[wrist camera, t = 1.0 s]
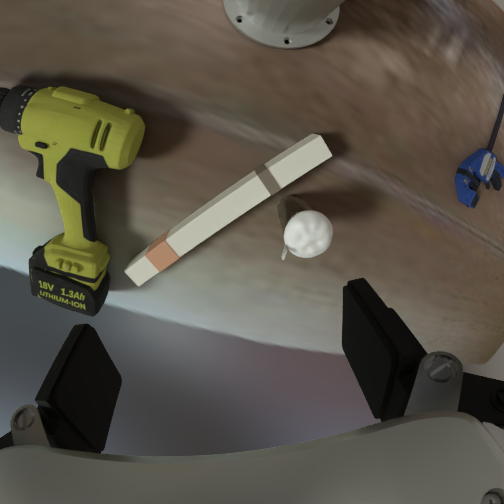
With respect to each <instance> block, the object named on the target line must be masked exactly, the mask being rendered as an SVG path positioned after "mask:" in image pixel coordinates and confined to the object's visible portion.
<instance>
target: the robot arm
mask: <svg viewBox="0 0 504 504" xmlns="http://www.w3.org/2000/svg"><path fill="white" fill-rule="evenodd" d="M344 1H346V0H223V4H224V9H225V12H226V14H227V16H228V19H229V20H230V22H231V23H232V24H233V26H234V27H235V28H236V29H237V30H238V31H239V32H240V33H242V34H243V35H244V36H246V37H247V38H249V39H250V40H252V41H255V42H257V43H259V44H261V45H265V46H268V47H272V48H279V49H297V48H302V47H307V46H309V45H312V44H315V43H316V42H318V41H320V40H321V39H323V38H324V37H325V36H327V35H328V34H329V33H330V32H331V30H332V29H333V28H334V27H335V25H336V23H337V21H338V17H339V13H340V5H341V4H342V3H343V2H344ZM237 20H241V21H242V22H241V23H239V22H237ZM326 22H328V23H329V24H327V23H326ZM284 41H288V43H289V44H285V42H284ZM342 347H343V351H344V353H345V355H346V357H347V359H348V361H349V363H350V366H351V368H352V370H353V372H354V374H355V376H356V378H357V381H358V383H359V385H360V387H361V389H362V391H363V394H364V396H365V398H366V400H367V402H368V405H369V407H370V409H371V411H372V414H373V415H374V417H375V418H376V419H378V418H380V420H381V423H377V424H373V425H369V426H366V427H362V428H359V429H355V430H352V431H348V432H344V433H341V434H337V435H333V436H328V437H324V438H320V439H316V440H311V441H306V442H302V443H297V444H291V445H286V446H280V447H275V448H269V449H262V450H255V451H247V452H238V453H229V454H218V455H203V456H183V457H182V456H179V457H149V456H124V455H110V454H101V451H103V450H104V448H105V444H106V440H107V436H108V432H109V427H110V424H111V420H112V416H113V412H114V408H115V405H116V401H117V398H118V394H119V391H120V387H121V383H122V379H121V375H120V374H119V372H118V370H117V369H116V367H115V365H114V363H113V362H112V360H111V358H110V356H109V355H108V353H107V351H106V349H105V347H104V345H103V344H102V342H101V340H100V338H99V336H98V334H97V332H96V330H95V329H94V328H93V327H91V326H90V325H89V324H79V325H75V326H74V327H73V329H72V330H71V332H70V334H69V336H68V337H67V339H66V341H65V342H64V344H63V346H62V348H61V350H60V351H59V353H58V355H57V357H56V359H55V361H54V362H53V364H52V366H51V368H50V370H49V372H48V374H47V376H46V378H45V380H44V382H43V384H42V386H41V388H40V390H39V392H38V394H37V396H36V398H35V401H36V402H37V404H38V408H36V407H35V406H34V405H30V404H29V405H24V406H22V407H20V408H19V409H17V410H16V412H15V413H14V414H13V416H12V418H11V421H10V427H11V431H10V432H9V433H7V434H6V435H4V436H3V437H1V438H0V504H504V381H501V380H496V379H491V378H487V377H483V376H478V375H474V374H470V373H466V372H463V366H462V363H461V361H460V360H459V359H458V358H457V357H456V356H454V355H453V354H451V353H448V352H444V351H436V352H431V353H429V354H427V352H426V351H425V350H424V348H423V347H422V346H421V344H420V343H419V342H418V340H417V339H416V338H415V336H414V335H413V334H412V332H411V331H410V330H409V328H408V327H407V326H406V324H405V323H404V322H403V321H402V319H401V318H400V317H399V315H398V314H397V313H396V312H395V310H393V309H392V308H388V307H387V306H386V305H385V303H384V302H383V301H382V300H381V298H380V297H379V296H378V295H377V293H376V292H375V291H374V290H373V288H372V287H371V286H370V285H369V283H368V282H367V281H366V280H365V279H364V278H360V279H355V280H351V281H348V283H347V286H344V287H343V322H342Z"/></svg>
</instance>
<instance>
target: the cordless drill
mask: <svg viewBox="0 0 504 504" xmlns="http://www.w3.org/2000/svg"><path fill="white" fill-rule="evenodd" d="M0 126H1V128H2V129H3V130H5V131H8V132H11V133H15V134H19V135H18V139H19V143H20V146H21V147H22V148H23V149H26V150H27V151H29V152H31V153H32V154H34V155H36V157H37V158H38V160H39V165H38V170H37V173H36V176H37V177H39V178H42V179H45V180H46V181H47V182H49V183H50V184H51V186H52V187H53V189H54V192H55V194H56V197H57V201H58V204H59V208H60V211H61V215H62V218H63V222H64V227H65V233H62V234H59V235H57V236H55V237H54V238H52V239H51V240H49V241H48V242H47V243H45V244H44V245H43V246H38V247H37V248H35V250H34V251H33V255H32V257H31V258H30V259H29V274H30V283H31V292H32V295H34V296H38V297H40V298H43V299H45V300H47V301H49V302H51V303H54V304H56V305H58V306H60V307H63V308H66V309H69V310H72V311H76V312H79V313H82V314H85V315H89V316H95V315H96V314H97V313H98V312H99V310H100V309H101V307H102V305H103V304H104V302H105V299H106V297H107V294H108V290H109V281H110V277H109V274H108V273H107V271H106V265H107V264H108V262H109V260H110V255H109V254H108V247H107V246H106V245H103V244H102V242H100V241H97V234H96V225H95V216H94V207H93V196H92V182H93V176H94V172H95V171H96V170H97V169H98V168H114V169H119V170H121V169H124V168H126V167H128V166H130V165H131V164H132V163H133V161H134V159H135V157H136V155H137V153H138V150H139V148H140V145H141V142H142V139H143V136H144V132H145V124H144V122H143V120H142V118H141V117H140V116H139V115H136V114H135V110H133V109H126V110H124V109H121V108H118V107H116V106H113V105H111V104H108V103H105V102H102V101H100V99H99V97H98V96H96V95H93V94H90V93H86V92H83V91H79V90H75V89H71V88H68V87H64V86H60V87H58V88H56V87H48V88H43V89H38V88H33V87H27V86H16V87H14V88H12V89H11V90H10V89H7V88H1V87H0Z"/></svg>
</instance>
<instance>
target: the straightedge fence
mask: <svg viewBox="0 0 504 504" xmlns="http://www.w3.org/2000/svg"><path fill="white" fill-rule="evenodd" d="M330 157H332V154H331V152H330V151H329V149H328V147H327V146H326V144H325V142H324V140H323V139H322V137H321V135H317V134H311V135H309V136H308V137H306V138H304V139H303V140H301V141H300V142H298V143H296V144H295V145H293V146H292V147H290V148H288V149H287V150H285V151H284V152H282V153H281V154H279V155H277V156H276V157H274V158H273V159H271V160H270V161H268V162H267V163H265V164H263V165H261V166H260V167H258V168H257V169H255V170H254V171H253V172H251V173H250V174H248V175H247V176H245V177H244V178H242V179H241V180H240V181H238V182H237V183H235V184H234V185H232V186H231V187H229V188H228V189H226V190H225V191H223V192H222V193H221V194H219V195H218V196H216V197H215V198H213V199H212V200H211V201H209V202H208V203H206V204H205V205H204V206H202V207H201V208H199V209H198V210H197V211H195V212H194V213H192V214H191V215H190V216H188V217H187V218H185V219H184V220H183V221H181V222H180V223H179V224H177V225H176V226H175V227H173V228H172V229H171V230H169V231H167V232H166V233H165V234H163V235H162V236H161V237H159V238H158V239H157V240H155V241H154V242H153V243H151V244H150V245H149V246H148V247H147V248H146V249H144V250H143V251H142V252H140V253H139V254H138V255H137V256H135V257H134V258H133V259H131V261H130V262H129V264H128V266H127V268H126V269H125V271H124V272H125V273H126V274H127V275H128V276H129V277H130V278H131V279H132V280H133V281H134V282H135V284H136V285H137V286H138V287H139V286H140V285H142V284H143V283H144V282H146V281H147V280H148V279H150V278H151V277H153V276H154V275H155V274H157V273H158V272H161V271H162V270H164V269H165V268H166V267H168V266H169V265H171V264H172V263H173V262H175V261H176V260H178V259H179V258H180V257H181V256H182V255H184V254H185V253H187V252H188V251H189V250H191V249H192V248H194V247H195V246H197V245H198V244H199V243H201V242H202V241H204V240H205V239H207V238H208V237H210V236H211V235H213V234H214V233H215V232H217V231H218V230H220V229H221V228H223V227H224V226H226V225H227V224H229V223H230V222H232V221H233V220H235V219H236V218H238V217H239V216H241V215H242V214H244V213H245V212H247V211H248V210H250V209H251V208H253V207H254V206H256V205H257V204H259V203H260V202H262V201H263V200H265V199H266V198H268V197H269V196H272V195H274V194H275V193H277V192H278V191H280V190H281V188H283V187H285V186H286V185H288V184H289V183H291V182H292V181H294V180H295V179H297V178H298V177H300V176H302V175H303V174H305V173H306V172H308V171H309V170H311V169H313V168H314V167H316V166H317V165H319V164H321V163H322V162H324V161H325V160H327V159H329V158H330Z"/></svg>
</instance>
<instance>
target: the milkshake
mask: <svg viewBox="0 0 504 504" xmlns="http://www.w3.org/2000/svg"><path fill="white" fill-rule="evenodd" d="M277 208H278V215H279V219H280V222H281V226H282V230H283V235H284V241H285V244H286V245H285V248H284V251H283V254H282V257H281V259H282V261H283V262H284V259H285V256H286V253H287V250H288V249H289V250H290V252H291V253H293V254H294V255H296V256H298V257H303V258H311V257H314V256H317V255H319V254H321V253H323V252H324V251H325V250H326V249H327V248H328V247H329V245H330V243H331V239H332V235H333V229H332V226H331V223H330V221H329V220H328V218H327V217H326V216H325V215H323V214H322V213H320V212H319V211H317V210H316V209H314V208H313V207H312V206H310V205H309V204H308V203H306V202H305V201H304V200H302V199H301V198H300V197H298V196H292V195H289V196H287V197H285V198H283V199H281V201H280V203H279V205H278V207H277Z"/></svg>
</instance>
